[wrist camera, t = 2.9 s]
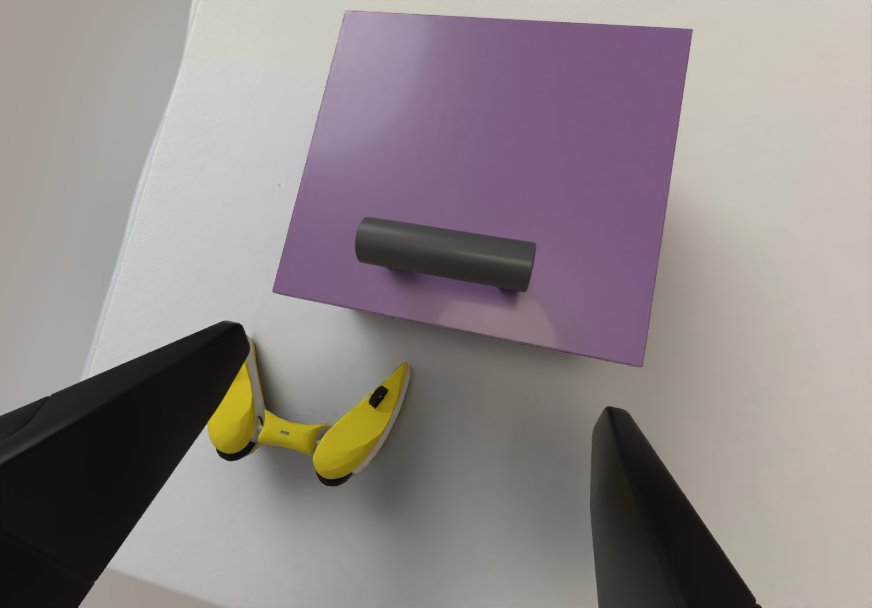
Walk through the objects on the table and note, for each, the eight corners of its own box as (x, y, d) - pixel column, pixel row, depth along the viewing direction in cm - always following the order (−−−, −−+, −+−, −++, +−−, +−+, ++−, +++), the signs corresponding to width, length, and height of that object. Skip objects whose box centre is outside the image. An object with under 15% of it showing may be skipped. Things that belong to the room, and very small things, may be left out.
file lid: (635, 367, 12) (695, 372, 9) (280, 294, 14) (212, 275, 11) (684, 42, 13) (753, -69, 10) (350, 22, 16) (309, -75, 12)
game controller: (211, 456, 20) (165, 445, 17) (262, 349, 23) (231, 324, 20) (385, 499, 18) (369, 497, 15) (415, 378, 21) (407, 355, 18)
